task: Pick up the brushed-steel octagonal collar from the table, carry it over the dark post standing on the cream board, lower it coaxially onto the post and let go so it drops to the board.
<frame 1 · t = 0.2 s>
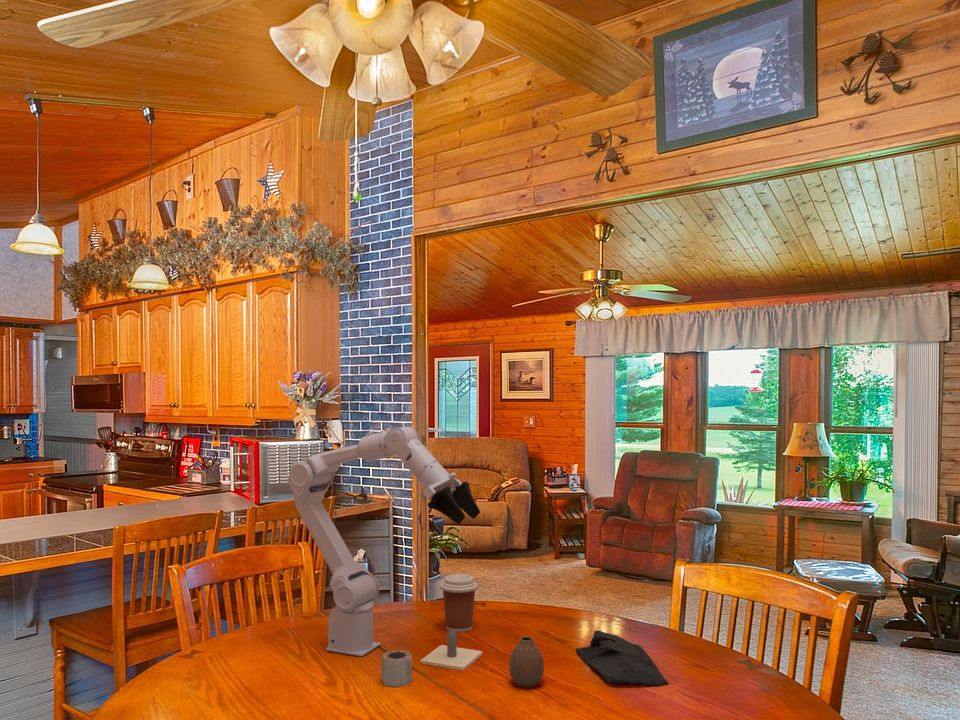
hand: (469, 518, 151), 31 cm above the table, tool tilted 45°, fingers open, 7 cm apart
collar: (396, 680, 144), on the table
coffee cup: (459, 628, 176), on the table
post stand: (451, 658, 156), on the table
vase: (526, 684, 143), on the table
crumpled black cloth: (620, 669, 152), on the table
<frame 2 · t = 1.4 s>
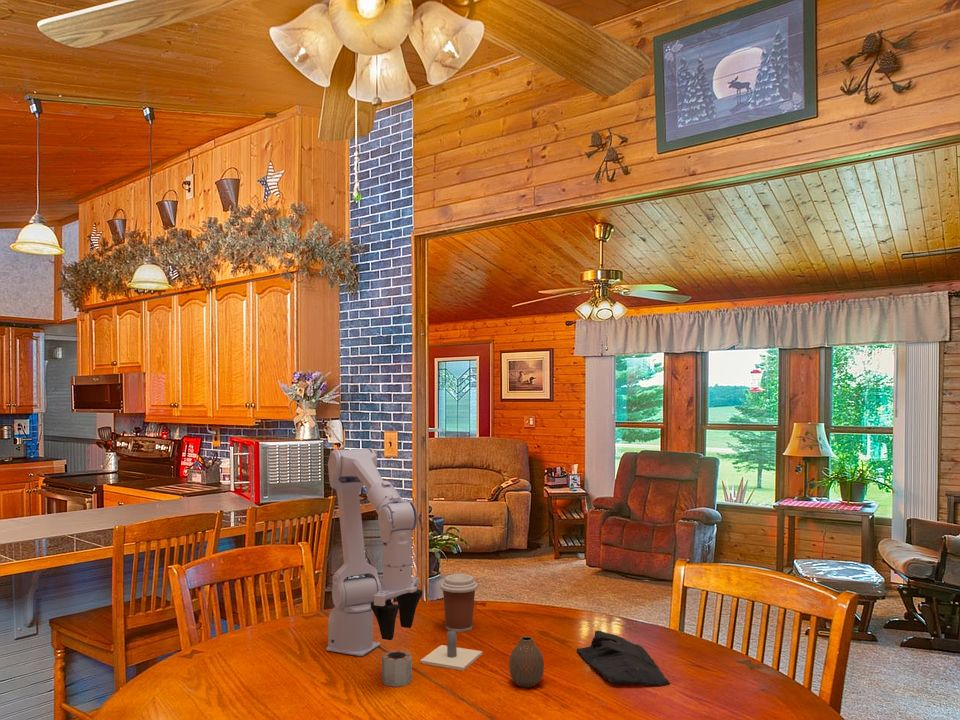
hand: (397, 632, 145), 9 cm above the table, tool pointing down, fingers open, 7 cm apart
nothing on the table moved.
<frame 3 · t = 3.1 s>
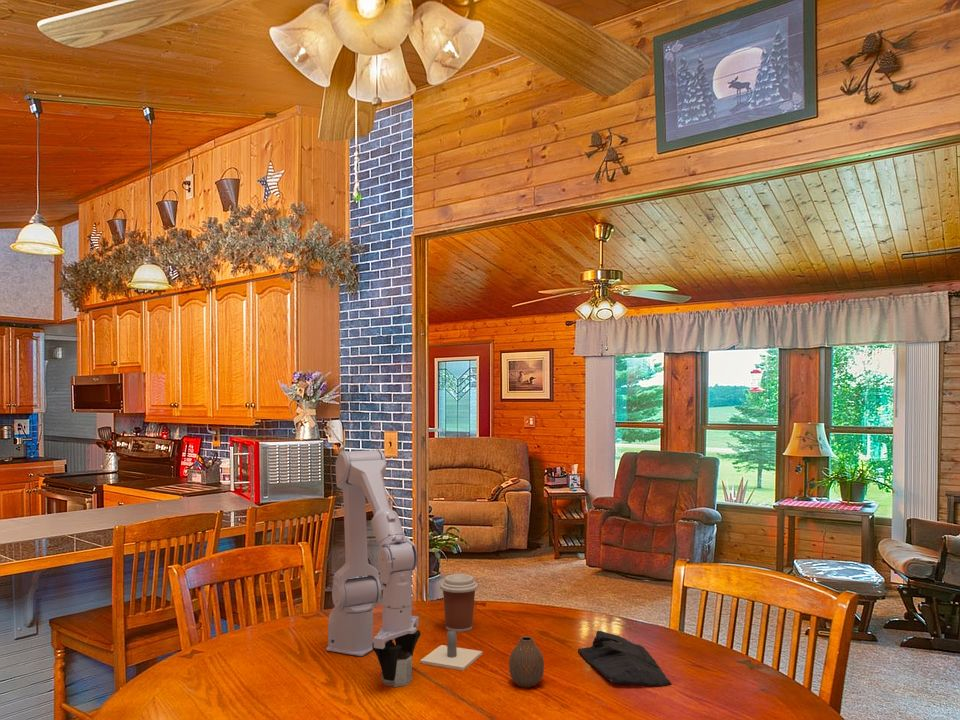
hand: (396, 673, 144), 1 cm above the table, tool pointing down, fingers closed on collar, 5 cm apart
collar: (396, 680, 144), on the table, touching gripper
everything else where it was.
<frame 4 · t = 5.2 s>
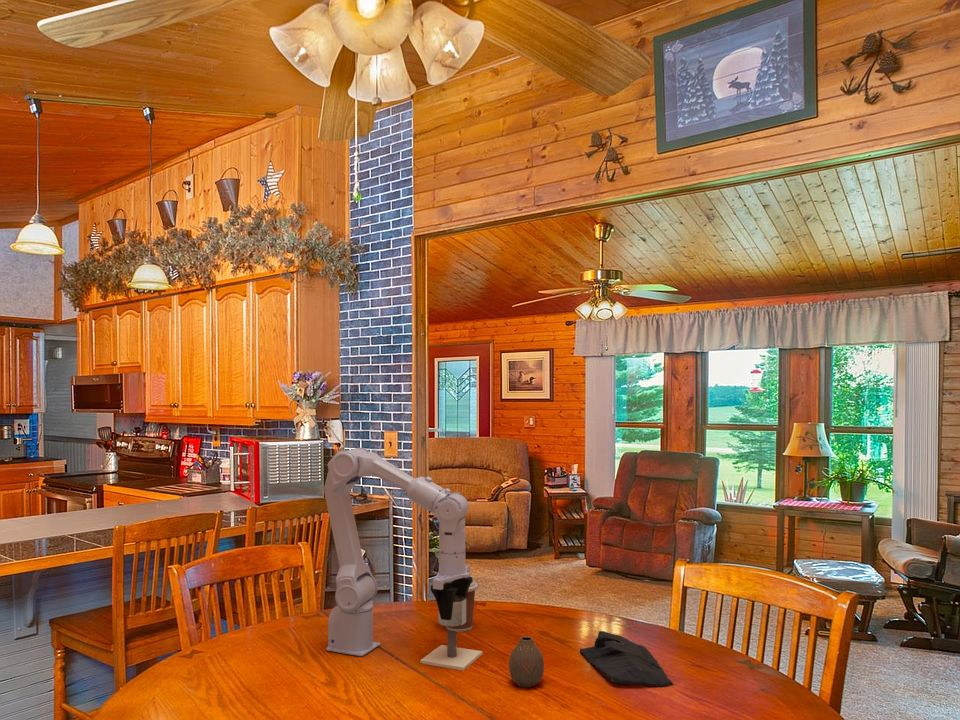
hand: (452, 615, 157), 9 cm above the table, tool pointing down, fingers closed on collar, 5 cm apart
collar: (452, 622, 156), point 8 cm above the table, touching gripper
everything else where it was.
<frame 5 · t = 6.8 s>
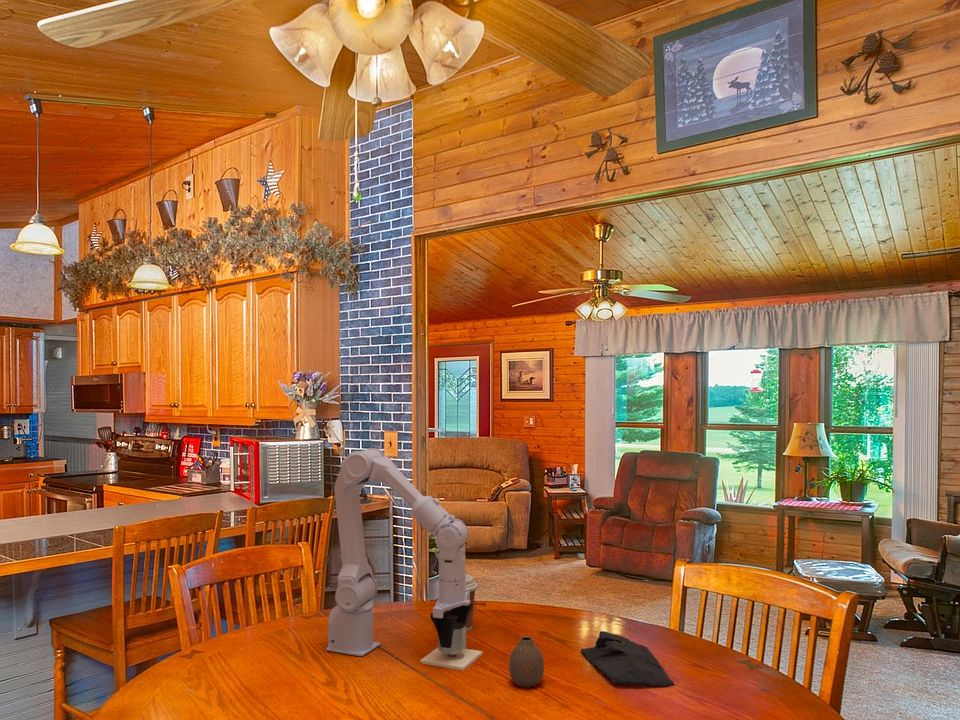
hand: (451, 642, 156), 3 cm above the table, tool pointing down, fingers closed on collar, 5 cm apart
collar: (452, 649, 156), point 2 cm above the table, touching gripper
when the fingers open (3 cm above the table, at t = 7.4 s): collar drops 1 cm, resting on post stand.
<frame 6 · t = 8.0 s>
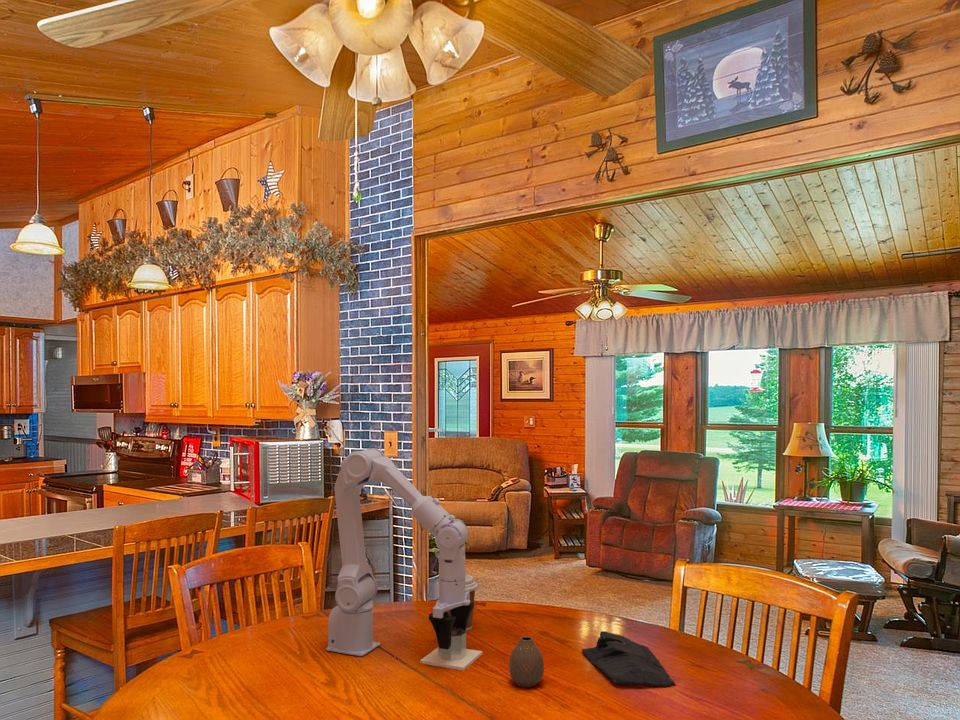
hand: (451, 642, 156), 3 cm above the table, tool pointing down, fingers open, 7 cm apart
collar: (452, 655, 156), point 1 cm above the table, touching post stand
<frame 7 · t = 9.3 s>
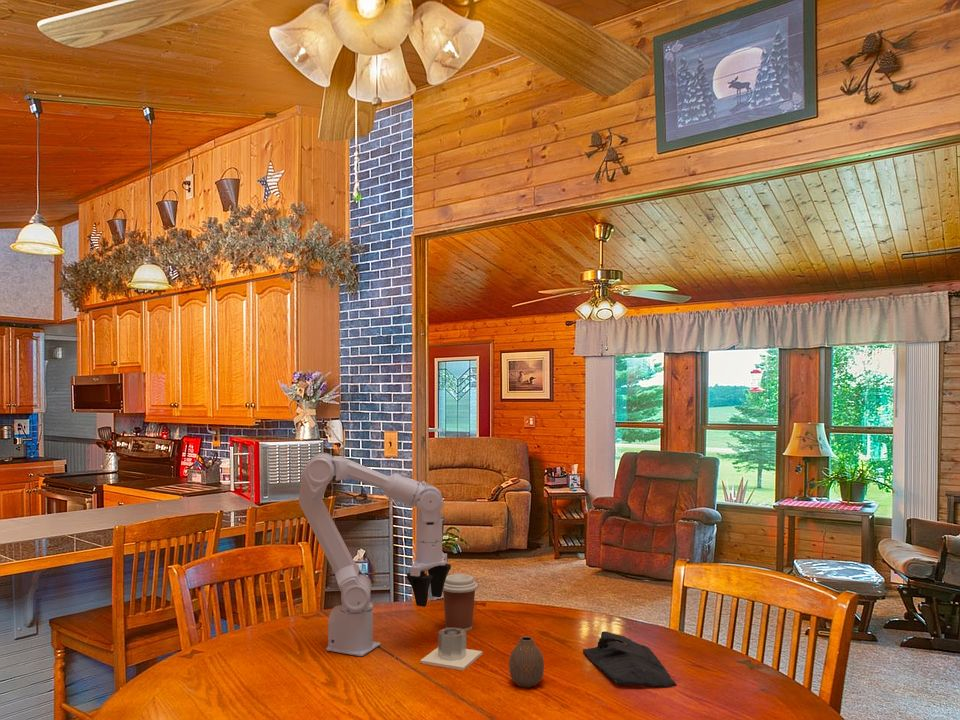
hand: (429, 601, 164), 10 cm above the table, tool pointing down, fingers open, 7 cm apart
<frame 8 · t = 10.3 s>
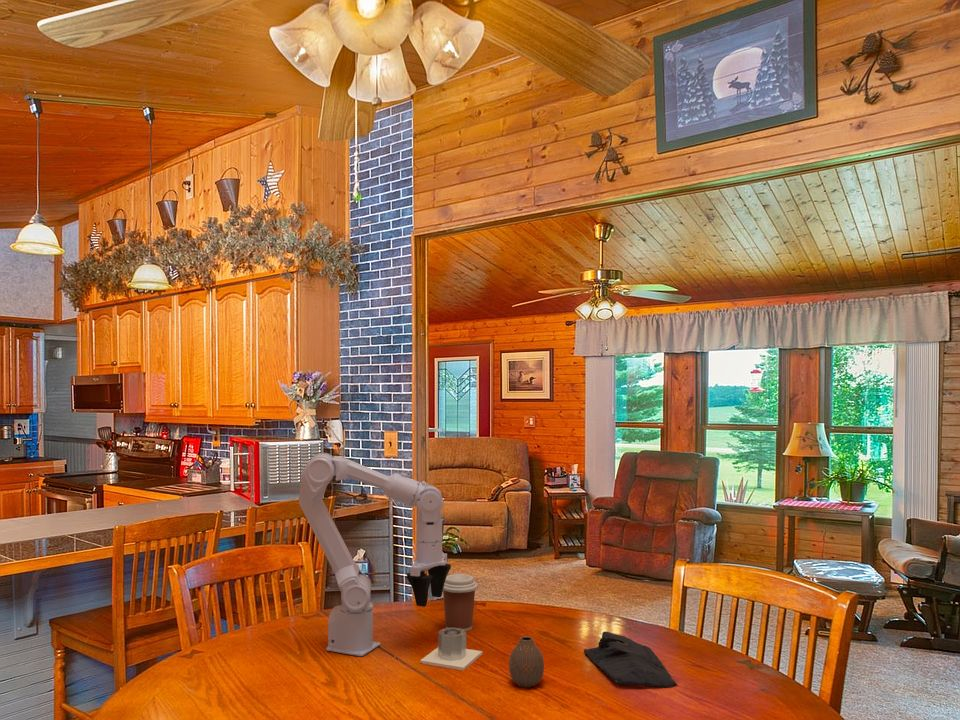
hand: (429, 601, 164), 10 cm above the table, tool pointing down, fingers open, 7 cm apart
at the end: collar 0.1 cm from the post stand (horizontally); collar point 0.6 cm above the table; the gripper is holding nothing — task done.
